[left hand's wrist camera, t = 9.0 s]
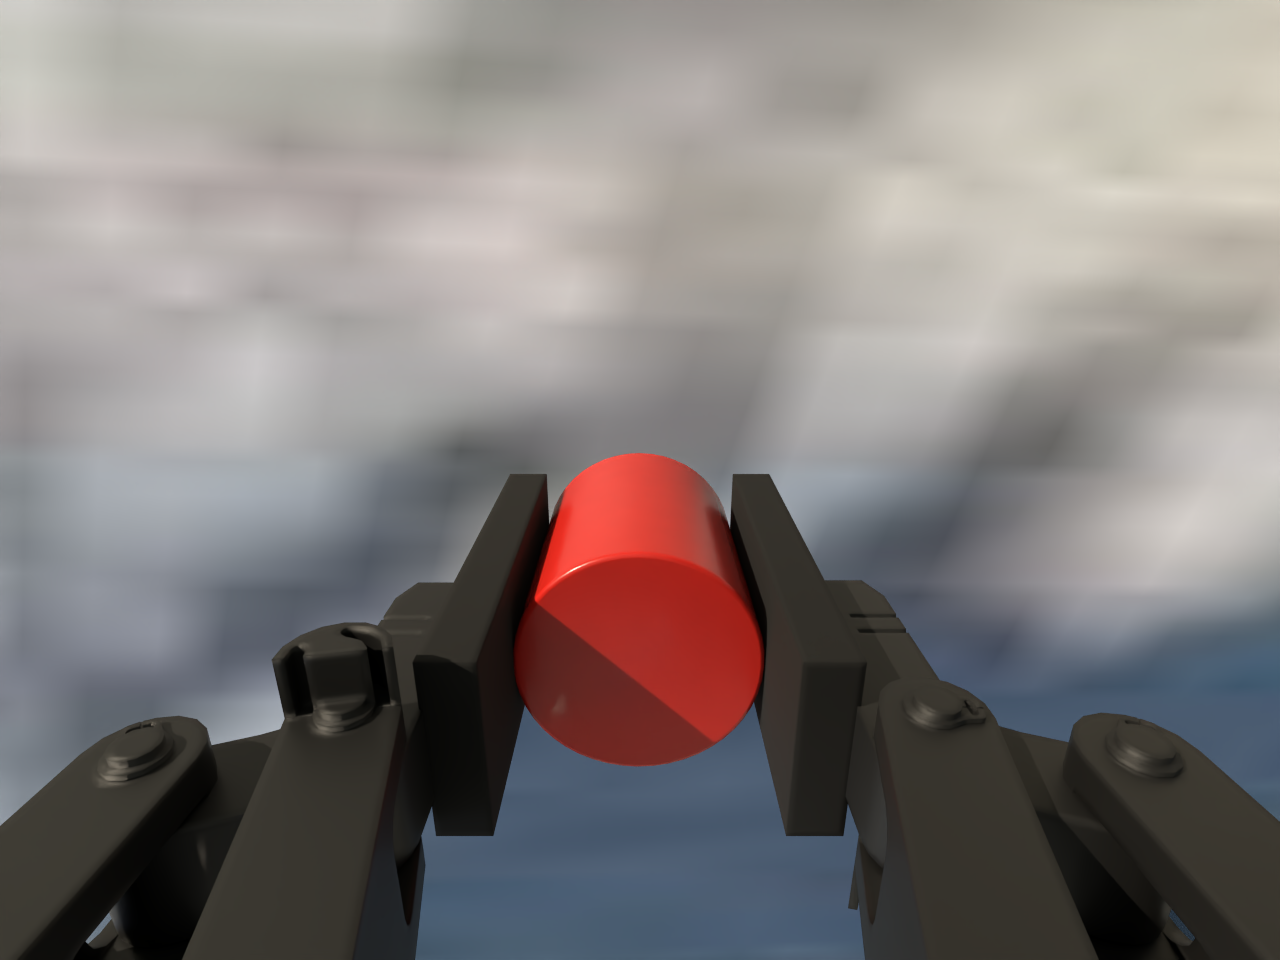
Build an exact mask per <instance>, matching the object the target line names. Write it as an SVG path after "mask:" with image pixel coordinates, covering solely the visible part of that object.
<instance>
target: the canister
mask: <svg viewBox="0 0 1280 960" xmlns="http://www.w3.org/2000/svg"><path fill="white" fill-rule="evenodd" d="M513 658H514V673H515V680H516V684H517V687H518V690H519V693H520V695H521V697H522V699H523V701H524V704H525V706H526V707H527V709H528V710H529V712H530V713H531V715H532V716H533V718H534V719H535V720H536V721H537V722H538V724H539V725H540V726H541V727H542V728H543V729H544V730H545V731H546V732H547V733H548V734H549V735H551V736H552V737H553V738H554V739H556V740H557V741H558V742H560V743H561V744H563V745H564V746H566V747H568V748H569V749H571V750H573V751H575V752H577V753H579V754H581V755H584V756H586V757H589V758H592V759H594V760H598V761H602V762H606V763H610V764H616V765H623V766H655V765H661V764H668V763H672V762H676V761H679V760H683V759H686V758H688V757H691V756H694V755H696V754H699V753H700V752H702V751H704V750H706V749H708V748H710V747H712V746H713V745H715V744H716V743H718V742H719V741H721V740H722V739H723V738H725V737H726V736H727V735H728V734H729V733H730V732H731V731H733V730H734V729H735V728H736V726H737V725H738V724H739V723H740V722H741V721H742V720H743V718H744V717H745V716H746V714H747V713H748V711H749V710H750V708H751V706H752V704H753V702H754V700H755V698H756V696H757V694H758V692H759V688H760V685H761V682H762V679H763V673H764V666H765V650H764V643H763V637H762V633H761V630H760V627H759V624H758V620H757V617H756V614H755V610H754V607H753V604H752V600H751V597H750V594H749V590H748V587H747V584H746V581H745V577H744V574H743V571H742V567H741V564H740V561H739V557H738V554H737V551H736V547H735V544H734V541H733V537H732V534H731V531H730V528H729V524H728V521H727V518H726V514H725V511H724V508H723V506H722V504H721V502H720V499H719V497H718V496H717V494H716V493H715V491H714V490H713V488H712V487H711V486H710V485H709V484H708V483H707V481H706V480H705V479H704V478H702V477H701V476H700V475H699V474H698V473H697V472H695V471H694V470H692V469H691V468H689V467H688V466H686V465H684V464H682V463H680V462H678V461H676V460H673V459H670V458H667V457H664V456H659V455H654V454H643V453H635V454H624V455H619V456H614V457H611V458H608V459H605V460H602V461H600V462H598V463H596V464H594V465H592V466H590V467H589V468H587V469H586V470H584V471H583V472H581V473H580V474H579V475H578V476H577V477H575V478H574V479H573V480H572V482H571V483H570V484H569V485H568V486H567V487H566V488H565V490H564V491H563V493H562V494H561V496H560V498H559V500H558V502H557V504H556V506H555V508H554V511H553V514H552V518H551V521H550V524H549V527H548V531H547V534H546V537H545V540H544V544H543V547H542V550H541V553H540V557H539V560H538V563H537V566H536V570H535V573H534V576H533V579H532V583H531V586H530V589H529V592H528V596H527V599H526V602H525V605H524V609H523V612H522V615H521V618H520V622H519V625H518V628H517V631H516V635H515V639H514V646H513Z"/></svg>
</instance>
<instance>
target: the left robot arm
mask: <svg viewBox="0 0 1280 960" xmlns="http://www.w3.org/2000/svg"><path fill="white" fill-rule="evenodd" d="M548 527H549V511H548V491H547V474H510V476H509V478H508V480H507V482H506V484H505V485H504V487H503V489H502V491H501V493H500V495H499V497H498V499H497V501H496V503H495V505H494V507H493V508H492V510H491V512H490V514H489V516H488V518H487V520H486V522H485V524H484V526H483V528H482V530H481V531H480V533H479V535H478V537H477V539H476V541H475V543H474V545H473V547H472V549H471V551H470V553H469V554H468V556H467V558H466V560H465V562H464V564H463V566H462V568H461V570H460V572H459V574H458V576H457V578H456V579H455V581H454V583H417V584H416V585H414V586H413V587H411V588H410V589H408V590H407V591H405V592H404V593H403V594H401V595H400V596H398V597H397V598H396V599H395V600H394V602H393V603H392V605H391V606H390V608H389V609H388V611H387V612H386V614H385V615H384V620H381V622H380V623H379V625H378V626H376V625H373V624H369V623H340V624H335V625H330V626H325V627H321V628H318V629H316V630H313V631H310V632H308V633H305V634H303V635H300V636H299V637H297V638H296V639H294V640H292V641H291V642H289V643H288V644H286V645H285V646H283V647H282V648H281V649H280V651H279V652H278V653H277V654H276V655H275V656H274V658H273V659H272V663H273V668H274V672H275V677H276V681H277V686H278V690H279V695H280V699H281V704H282V708H283V713H284V717H285V720H284V722H283V724H282V727H281V729H279V730H276V731H273V732H269V733H265V734H262V735H258V736H253V737H248V738H244V739H239V740H234V741H230V742H225V743H220V744H216V745H211V742H210V738H209V735H208V731H207V728H206V727H205V726H204V725H203V724H202V723H200V722H199V721H198V720H197V719H193V718H188V717H182V716H172V717H162V718H154V719H150V720H146V721H143V722H138V723H135V724H133V725H130V726H127V727H125V728H123V729H121V730H119V731H117V732H115V733H113V734H111V735H109V736H107V737H105V738H103V739H101V740H100V741H98V742H97V743H96V744H94V745H93V746H91V747H90V748H89V749H87V750H86V751H84V752H83V753H82V754H80V755H79V756H78V757H77V758H76V759H75V760H74V761H72V762H71V763H70V764H69V765H68V766H67V767H66V768H65V769H64V770H62V771H61V772H60V773H59V774H58V775H57V776H56V777H55V778H53V779H52V780H51V781H50V782H49V783H48V784H47V785H46V786H45V787H43V788H42V789H41V790H40V791H39V792H38V793H37V794H36V795H34V796H33V797H32V798H31V799H30V800H29V801H28V802H27V803H26V804H24V805H23V806H22V807H21V808H20V809H19V810H18V811H17V812H15V813H14V814H13V815H12V816H11V817H10V818H9V819H8V820H6V821H5V822H4V823H3V824H2V825H1V826H0V960H415V955H416V946H417V937H418V928H419V919H420V910H421V900H422V891H423V882H424V873H425V859H424V851H423V845H422V838H421V835H422V832H423V829H424V826H425V824H426V821H427V818H428V815H429V813H430V810H431V807H432V809H433V816H434V824H435V831H436V836H493V835H494V831H495V827H496V823H497V818H498V814H499V810H500V806H501V802H502V798H503V793H504V789H505V785H506V781H507V777H508V773H509V768H510V764H511V760H512V756H513V752H514V747H515V743H516V739H517V735H518V731H519V727H520V722H521V718H522V714H523V710H524V706H525V704H524V701H523V699H522V697H521V695H520V693H519V690H518V687H517V684H516V680H515V673H514V658H513V646H514V639H515V635H516V631H517V628H518V625H519V622H520V618H521V615H522V612H523V609H524V605H525V602H526V599H527V596H528V592H529V589H530V586H531V583H532V579H533V576H534V573H535V570H536V566H537V563H538V560H539V557H540V553H541V550H542V547H543V544H544V540H545V537H546V534H547V531H548ZM730 531H731V534H732V537H733V541H734V544H735V547H736V551H737V554H738V557H739V561H740V564H741V567H742V571H743V574H744V577H745V581H746V584H747V587H748V590H749V594H750V597H751V600H752V604H753V607H754V610H755V614H756V617H757V620H758V624H759V627H760V630H761V633H762V637H763V643H764V650H765V666H764V673H763V679H762V682H761V685H760V688H759V692H758V694H757V696H756V698H755V700H754V704H755V708H756V712H757V716H758V720H759V724H760V729H761V733H762V737H763V741H764V745H765V749H766V754H767V758H768V762H769V766H770V770H771V774H772V779H773V783H774V787H775V791H776V795H777V800H778V804H779V808H780V812H781V816H782V820H783V825H784V829H785V833H786V836H843V835H844V827H845V820H846V813H847V806H848V805H849V808H850V810H851V813H852V816H853V819H854V822H855V824H856V827H857V830H858V833H859V838H858V845H857V851H856V858H855V865H854V872H853V878H852V885H851V892H850V899H849V906H848V908H850V909H855V910H857V908H858V903H859V908H860V917H861V926H862V936H863V945H864V954H865V960H1280V822H1279V821H1278V820H1277V819H1276V818H1275V817H1274V816H1273V815H1272V814H1270V813H1269V812H1268V811H1267V810H1266V809H1265V808H1264V807H1262V806H1261V805H1260V804H1259V803H1258V802H1257V801H1256V800H1255V799H1253V798H1252V797H1251V796H1250V795H1249V794H1248V793H1247V792H1246V791H1244V790H1243V789H1242V788H1241V787H1240V786H1239V785H1238V784H1237V783H1235V782H1234V781H1233V780H1232V779H1231V778H1230V777H1229V776H1228V775H1226V774H1225V773H1224V772H1223V771H1222V770H1221V769H1220V768H1219V767H1217V766H1216V765H1215V764H1214V763H1213V762H1212V761H1211V760H1209V759H1208V758H1207V757H1206V756H1205V755H1204V754H1203V753H1202V752H1200V751H1199V750H1198V749H1196V748H1195V747H1194V746H1192V745H1191V744H1189V743H1188V742H1187V741H1185V740H1184V739H1182V738H1181V737H1180V736H1178V735H1176V734H1174V733H1172V732H1170V731H1168V730H1166V729H1164V728H1162V727H1159V726H1157V725H1156V724H1154V723H1151V722H1148V721H1145V720H1142V719H1137V718H1135V717H1131V716H1127V715H1120V714H1109V713H1097V714H1092V715H1087V716H1083V717H1082V718H1081V719H1080V720H1079V721H1077V722H1076V723H1075V724H1074V725H1073V729H1072V732H1071V736H1070V740H1069V742H1064V741H1059V740H1055V739H1050V738H1045V737H1041V736H1036V735H1031V734H1026V733H1022V732H1018V731H1014V730H1011V729H1007V728H1003V727H1000V726H999V725H998V723H997V721H996V718H995V717H994V715H993V714H992V713H991V711H990V710H989V709H988V707H987V706H986V704H985V703H983V702H982V701H981V700H979V699H978V698H977V697H975V696H974V695H973V694H971V693H970V692H969V691H967V690H964V689H962V688H960V687H957V686H955V685H953V684H951V683H948V682H945V681H940V680H939V678H938V677H937V675H936V674H935V672H934V671H933V669H932V668H931V666H930V665H929V663H928V662H927V660H926V659H925V657H924V656H923V654H922V653H921V651H920V650H919V648H918V647H917V645H916V644H915V642H914V641H913V639H912V638H911V636H910V635H909V633H906V628H905V627H904V625H903V624H902V622H901V621H900V619H899V618H896V613H895V612H894V610H893V609H892V607H891V606H890V604H889V603H888V601H887V600H886V598H885V597H884V596H883V595H882V594H880V593H879V592H878V591H876V590H875V589H873V588H872V587H870V586H869V585H867V584H866V583H865V582H863V581H862V580H824V578H823V577H822V575H821V573H820V571H819V569H818V567H817V565H816V563H815V561H814V559H813V557H812V555H811V554H810V552H809V550H808V548H807V546H806V544H805V542H804V540H803V538H802V536H801V534H800V532H799V531H798V529H797V527H796V525H795V523H794V521H793V519H792V517H791V515H790V513H789V511H788V509H787V507H786V506H785V504H784V502H783V500H782V498H781V496H780V494H779V492H778V490H777V488H776V486H775V484H774V483H773V481H772V479H771V477H770V475H769V474H733V482H732V502H731V522H730ZM1171 909H1172V910H1173V911H1174V912H1175V914H1176V915H1177V916H1178V917H1179V918H1180V920H1181V921H1182V922H1183V923H1184V924H1185V926H1186V927H1187V928H1188V929H1189V930H1190V932H1191V933H1192V934H1193V935H1194V937H1195V939H1194V941H1191V940H1190V939H1189V938H1188V937H1187V936H1186V935H1185V934H1184V933H1183V932H1182V931H1180V929H1179V928H1178V927H1177V926H1176V925H1175V923H1174V922H1173V921H1172V920H1171V918H1170V917H1169V914H1170V911H1171ZM108 913H110V916H111V918H112V919H111V920H110V922H109V923H108V924H107V925H106V927H105V928H104V929H103V930H102V932H101V933H100V934H99V935H98V936H96V937H95V938H94V939H93V940H92V941H91V942H90V943H89V944H87V943H86V940H87V939H88V937H89V936H90V935H91V934H92V932H93V931H94V930H95V929H96V928H97V926H98V925H99V924H100V923H101V921H102V920H103V919H104V918H105V917H106V915H107V914H108Z"/></svg>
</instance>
